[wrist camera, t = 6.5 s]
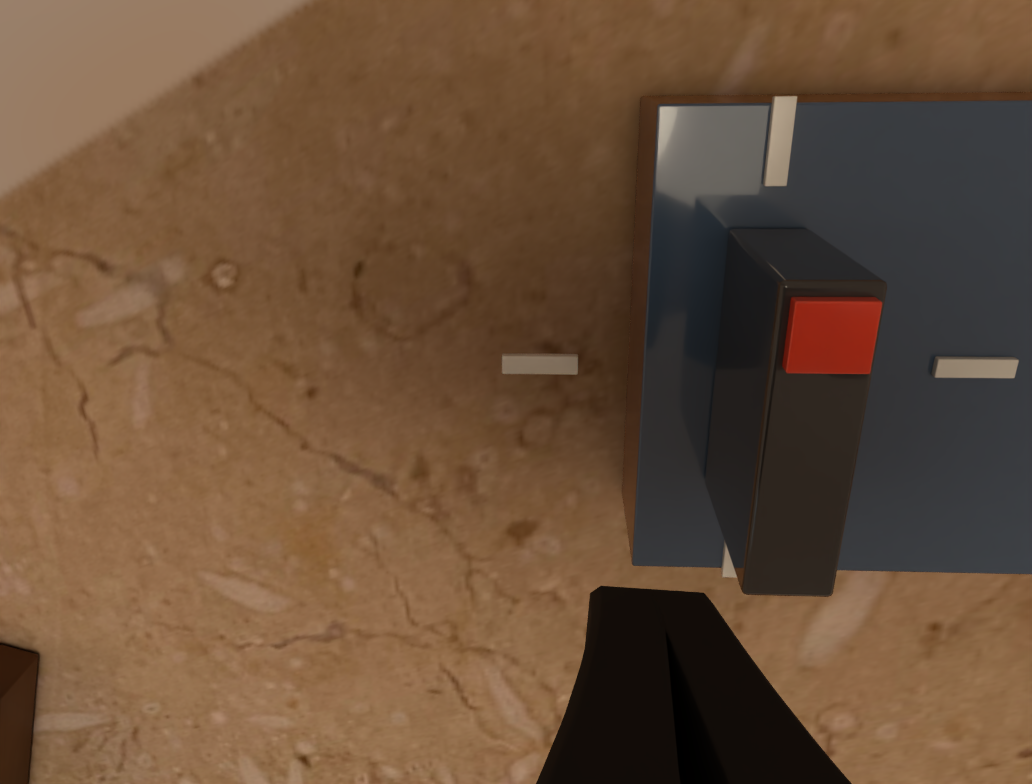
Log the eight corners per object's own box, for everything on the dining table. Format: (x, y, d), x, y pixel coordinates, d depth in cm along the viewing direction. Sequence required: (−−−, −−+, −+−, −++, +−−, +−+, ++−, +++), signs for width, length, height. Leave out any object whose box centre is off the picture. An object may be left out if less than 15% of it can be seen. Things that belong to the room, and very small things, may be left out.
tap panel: (514, 494, 19) (505, 572, 16) (508, 91, 16) (496, 99, 13) (1226, 506, 18) (1351, 591, 15) (1393, 82, 15) (1598, 87, 12)
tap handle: (776, 485, 15) (839, 609, 12) (703, 484, 15) (744, 607, 12) (811, 227, 13) (899, 286, 10) (727, 227, 13) (785, 286, 10)
